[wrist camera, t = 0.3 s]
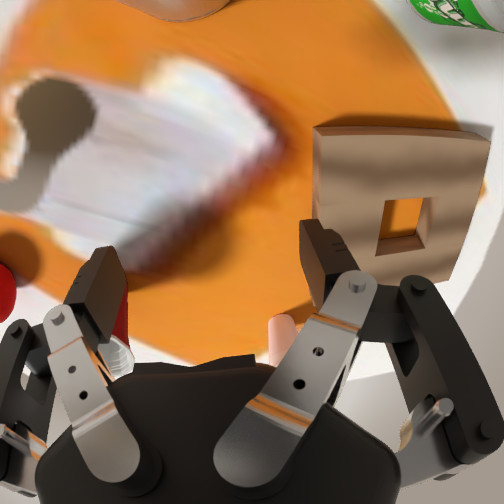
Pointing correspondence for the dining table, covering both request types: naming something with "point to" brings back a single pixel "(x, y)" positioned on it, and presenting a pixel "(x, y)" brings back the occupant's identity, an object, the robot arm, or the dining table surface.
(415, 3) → the soda can
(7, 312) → the fruit
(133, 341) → the dining table surface
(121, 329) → the plastic cup
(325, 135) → the socket board
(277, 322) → the smoothie
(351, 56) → the dining table surface
